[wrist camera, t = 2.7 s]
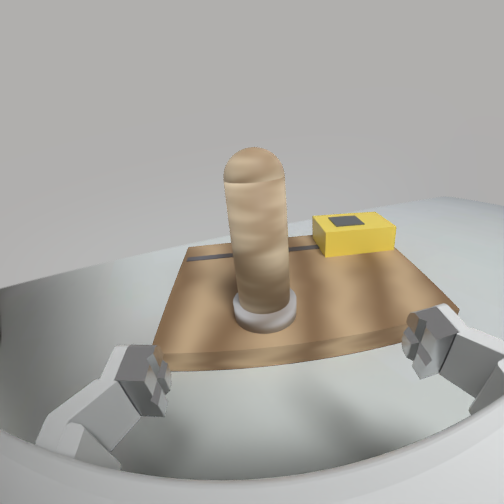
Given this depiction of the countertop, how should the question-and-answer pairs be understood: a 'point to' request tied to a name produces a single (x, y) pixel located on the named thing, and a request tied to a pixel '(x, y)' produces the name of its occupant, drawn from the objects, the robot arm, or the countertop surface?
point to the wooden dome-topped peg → (259, 241)
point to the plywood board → (307, 308)
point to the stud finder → (353, 233)
